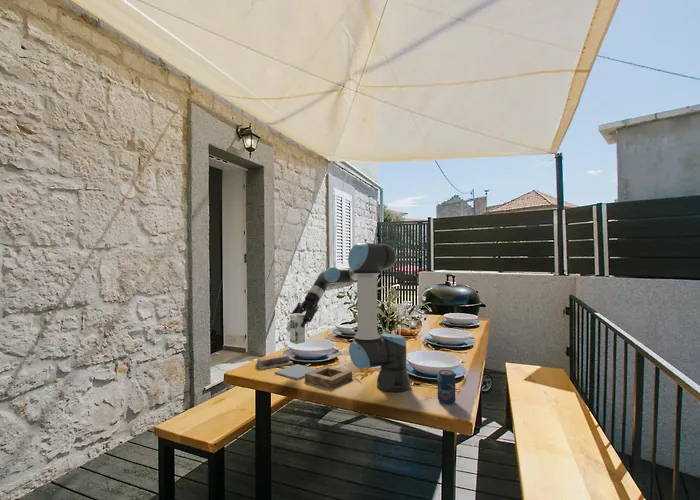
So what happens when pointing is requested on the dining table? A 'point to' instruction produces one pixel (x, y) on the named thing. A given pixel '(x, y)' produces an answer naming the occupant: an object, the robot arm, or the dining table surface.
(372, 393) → the dining table surface
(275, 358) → the packaged product
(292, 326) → the syrup box
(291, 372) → the slate pad
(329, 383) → the walnut holder
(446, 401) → the soda can
